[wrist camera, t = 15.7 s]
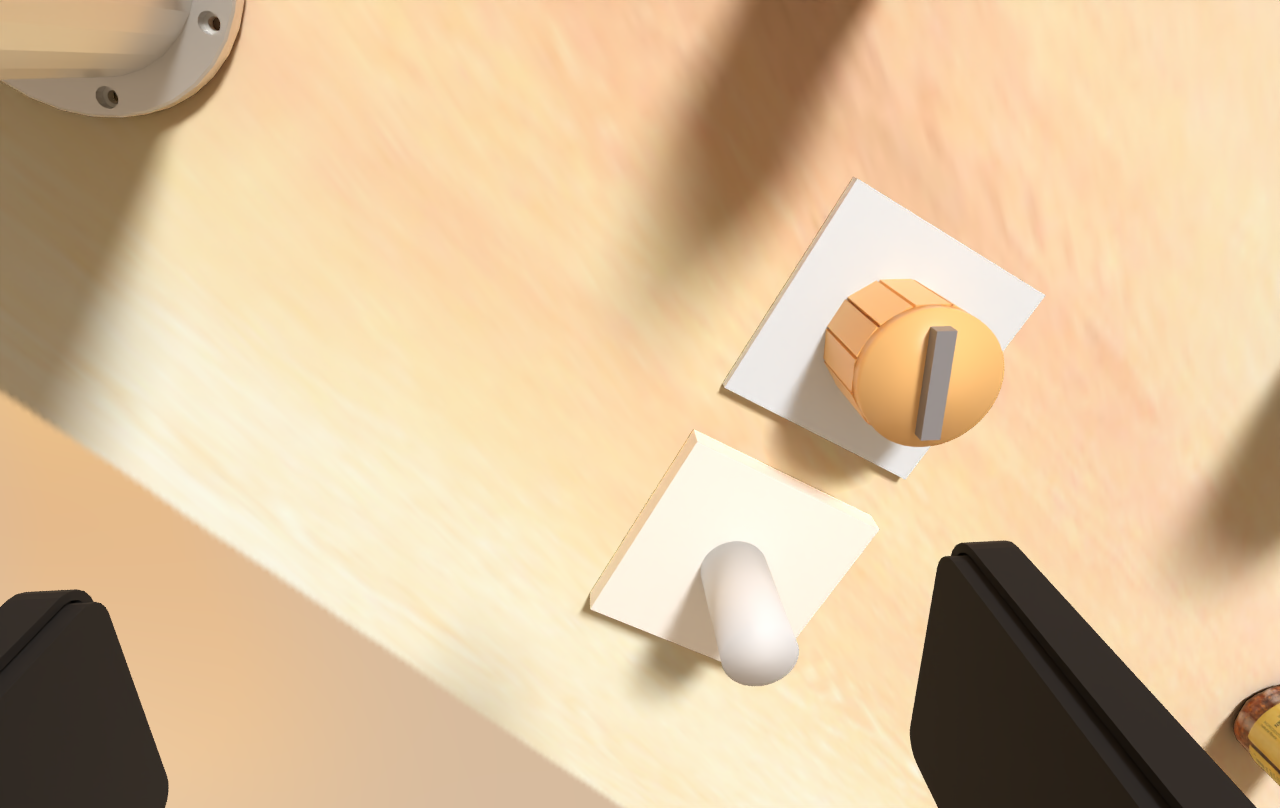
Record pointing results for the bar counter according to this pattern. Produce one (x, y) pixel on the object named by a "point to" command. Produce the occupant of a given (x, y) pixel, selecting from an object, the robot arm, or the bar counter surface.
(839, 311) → the knob
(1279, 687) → the sauce bottle
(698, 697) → the bar counter surface
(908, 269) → the mat
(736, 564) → the post block
